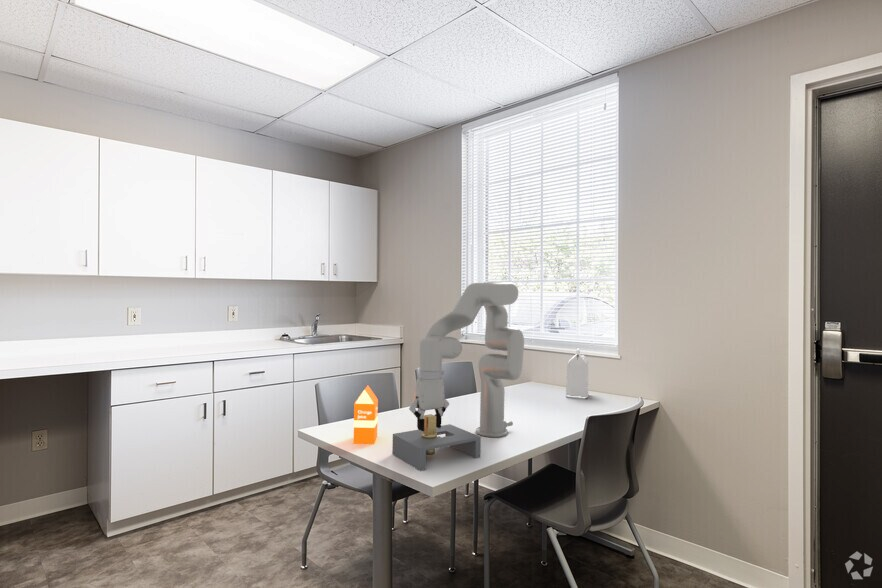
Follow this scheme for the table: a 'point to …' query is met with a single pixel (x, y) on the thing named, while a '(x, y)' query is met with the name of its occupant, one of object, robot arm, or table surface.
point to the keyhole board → (433, 444)
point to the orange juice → (365, 418)
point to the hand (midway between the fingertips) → (429, 428)
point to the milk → (577, 376)
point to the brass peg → (429, 430)
